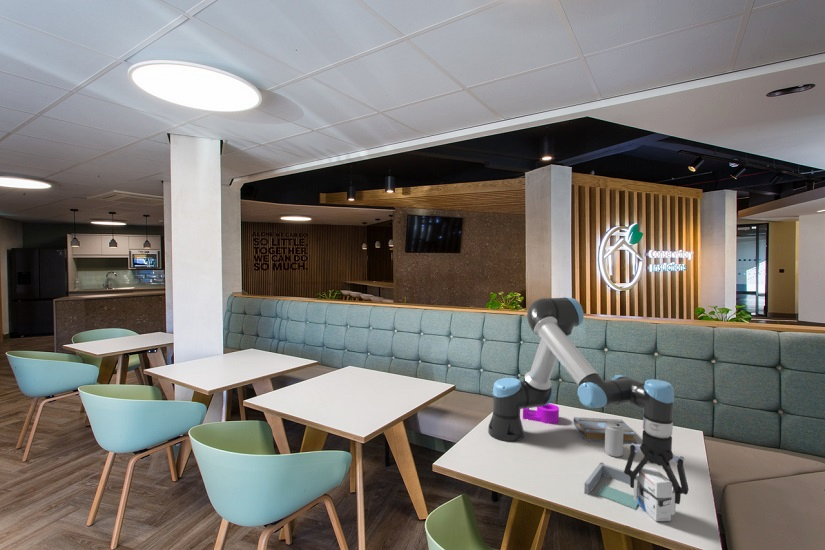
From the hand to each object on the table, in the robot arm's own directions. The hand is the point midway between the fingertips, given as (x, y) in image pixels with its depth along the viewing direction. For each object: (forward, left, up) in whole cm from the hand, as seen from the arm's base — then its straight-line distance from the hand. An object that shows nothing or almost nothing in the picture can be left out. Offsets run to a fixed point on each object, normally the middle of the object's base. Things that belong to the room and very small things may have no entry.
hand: (653, 505), depth 118 cm
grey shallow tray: (-27, +48, -3) cm, 55 cm away
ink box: (0, 0, -2) cm, 2 cm away
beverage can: (-19, +31, -3) cm, 36 cm away
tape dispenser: (-54, +44, -3) cm, 70 cm away
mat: (-10, +1, -2) cm, 10 cm away
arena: (-11, +4, -2) cm, 12 cm away
